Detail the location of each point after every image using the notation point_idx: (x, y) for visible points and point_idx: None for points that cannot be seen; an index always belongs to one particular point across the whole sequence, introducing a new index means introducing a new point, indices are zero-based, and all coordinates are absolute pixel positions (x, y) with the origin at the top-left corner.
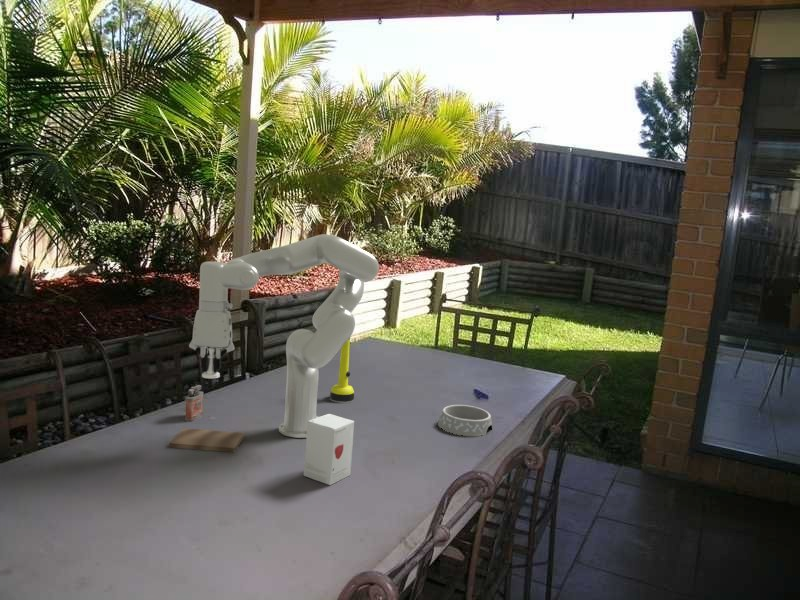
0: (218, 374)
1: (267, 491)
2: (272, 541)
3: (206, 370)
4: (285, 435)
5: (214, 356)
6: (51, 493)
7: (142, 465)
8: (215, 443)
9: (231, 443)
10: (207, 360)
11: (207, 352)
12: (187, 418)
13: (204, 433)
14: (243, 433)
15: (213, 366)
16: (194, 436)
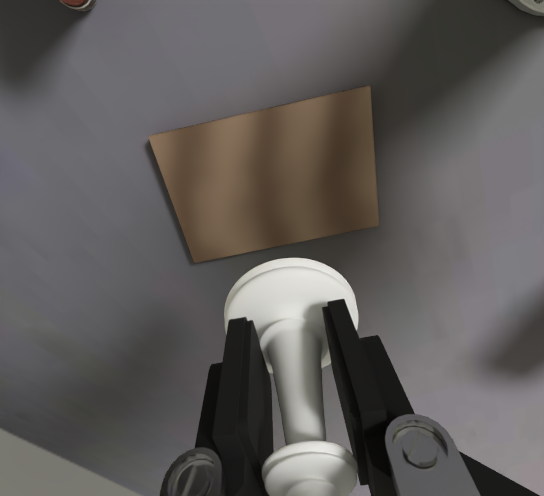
0: (355, 326)
1: (496, 362)
2: (518, 461)
3: (267, 370)
4: (520, 9)
5: (353, 487)
6: (159, 462)
7: (212, 354)
8: (314, 217)
9: (359, 199)
10: (262, 434)
11: (221, 493)
12: (75, 5)
13: (241, 153)
14: (368, 95)
15: (321, 378)
16: (227, 191)
